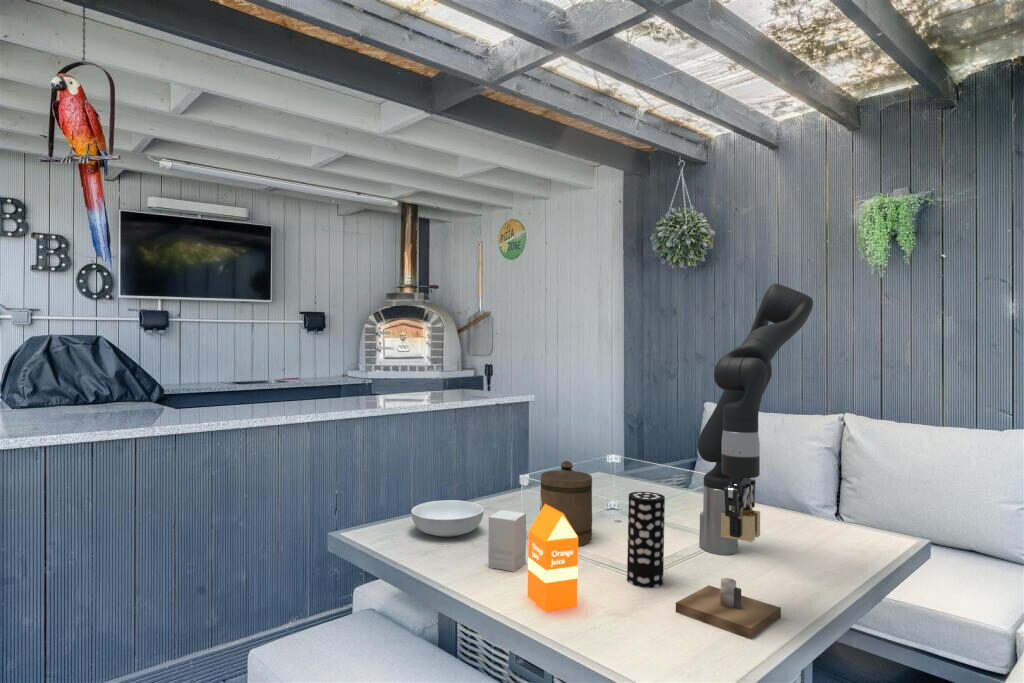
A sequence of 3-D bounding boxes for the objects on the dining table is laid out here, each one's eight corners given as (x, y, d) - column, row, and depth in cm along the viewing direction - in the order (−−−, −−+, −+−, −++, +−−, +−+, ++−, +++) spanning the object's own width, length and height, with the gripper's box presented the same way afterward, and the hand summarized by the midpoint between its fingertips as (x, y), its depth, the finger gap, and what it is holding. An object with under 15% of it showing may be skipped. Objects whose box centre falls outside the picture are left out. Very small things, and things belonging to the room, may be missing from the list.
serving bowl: (422, 520, 194) (422, 498, 194) (488, 524, 191) (489, 501, 191) (401, 541, 173) (401, 516, 173) (475, 546, 170) (476, 520, 170)
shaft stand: (675, 612, 130) (676, 578, 130) (708, 594, 140) (709, 562, 140) (750, 638, 119) (751, 602, 119) (780, 617, 129) (781, 583, 129)
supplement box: (526, 563, 158) (527, 512, 158) (514, 572, 151) (515, 520, 151) (500, 558, 161) (501, 509, 161) (486, 567, 154) (487, 516, 154)
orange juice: (544, 612, 129) (546, 515, 129) (526, 596, 137) (528, 504, 137) (577, 606, 132) (579, 511, 132) (558, 591, 140) (560, 501, 140)
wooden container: (561, 528, 188) (563, 455, 188) (602, 539, 178) (603, 462, 178) (528, 538, 178) (529, 461, 178) (569, 551, 167) (570, 469, 167)
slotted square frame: (721, 536, 130) (721, 512, 131) (730, 530, 135) (730, 507, 136) (751, 542, 127) (751, 517, 127) (760, 535, 132) (760, 511, 132)
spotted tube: (642, 590, 142) (644, 501, 142) (619, 577, 149) (621, 493, 149) (670, 584, 146) (672, 498, 146) (647, 572, 153) (648, 490, 153)
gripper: (749, 458, 124) (749, 544, 123) (768, 450, 135) (768, 529, 135) (711, 454, 128) (711, 537, 128) (732, 447, 140) (732, 523, 139)
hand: (740, 532), depth 131 cm, fingers closed on slotted square frame, 6 cm apart
